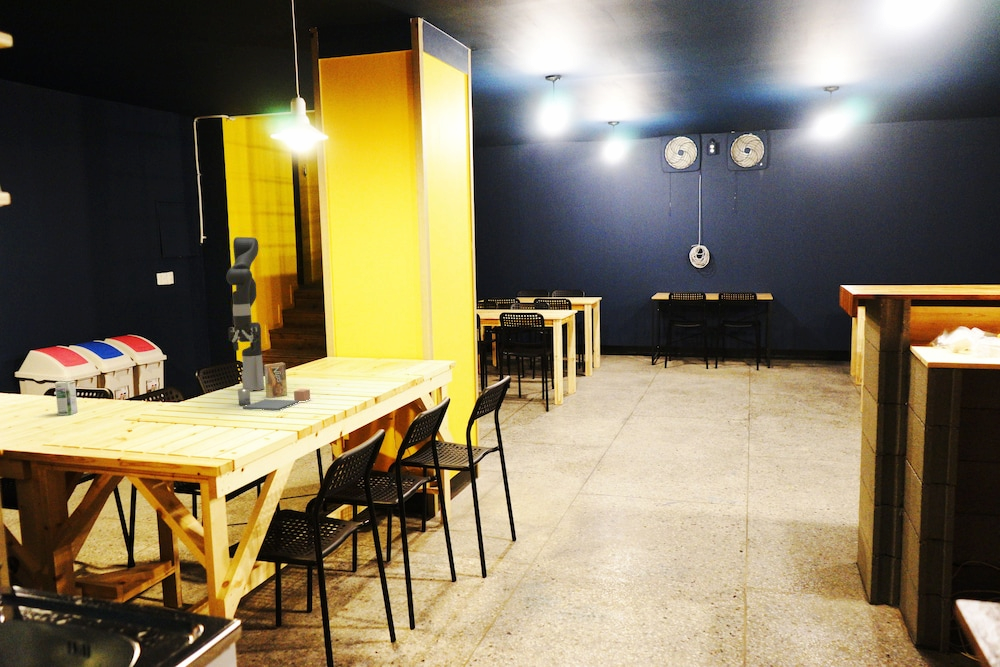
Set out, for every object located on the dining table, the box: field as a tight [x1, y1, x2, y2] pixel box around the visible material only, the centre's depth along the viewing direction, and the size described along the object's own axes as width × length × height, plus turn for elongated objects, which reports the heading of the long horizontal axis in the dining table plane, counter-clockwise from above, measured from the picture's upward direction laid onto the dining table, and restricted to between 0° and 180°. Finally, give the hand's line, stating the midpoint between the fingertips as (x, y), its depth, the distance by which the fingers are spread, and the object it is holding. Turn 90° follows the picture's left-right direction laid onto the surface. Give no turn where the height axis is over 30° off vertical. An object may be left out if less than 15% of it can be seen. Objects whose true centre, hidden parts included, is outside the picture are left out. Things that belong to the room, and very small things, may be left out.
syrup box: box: [54, 380, 78, 416], centre depth 326 cm, size 6×6×14 cm
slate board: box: [242, 398, 300, 411], centre depth 331 cm, size 18×16×1 cm
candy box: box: [263, 362, 288, 398], centre depth 352 cm, size 9×4×15 cm, turn 129°
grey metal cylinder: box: [237, 387, 252, 407], centre depth 334 cm, size 5×5×7 cm
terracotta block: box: [293, 388, 311, 401], centre depth 339 cm, size 5×5×5 cm
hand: (244, 350), depth 333 cm, fingers open, 8 cm apart
